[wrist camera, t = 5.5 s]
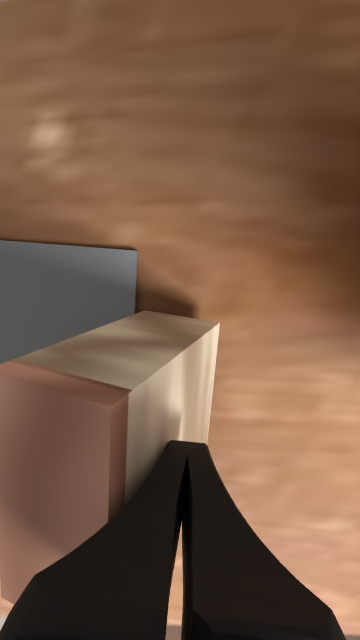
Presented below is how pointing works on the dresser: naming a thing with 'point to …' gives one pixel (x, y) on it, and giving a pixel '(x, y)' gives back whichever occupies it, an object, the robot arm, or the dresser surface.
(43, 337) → the mat
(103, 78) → the dresser surface
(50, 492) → the birch block
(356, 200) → the dresser surface
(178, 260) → the dresser surface
